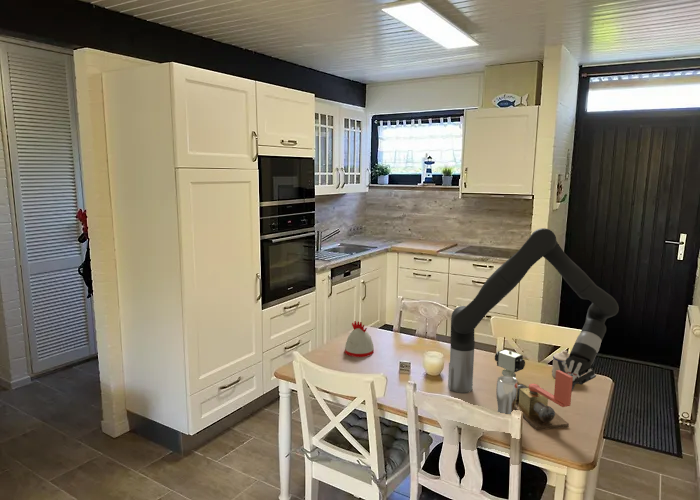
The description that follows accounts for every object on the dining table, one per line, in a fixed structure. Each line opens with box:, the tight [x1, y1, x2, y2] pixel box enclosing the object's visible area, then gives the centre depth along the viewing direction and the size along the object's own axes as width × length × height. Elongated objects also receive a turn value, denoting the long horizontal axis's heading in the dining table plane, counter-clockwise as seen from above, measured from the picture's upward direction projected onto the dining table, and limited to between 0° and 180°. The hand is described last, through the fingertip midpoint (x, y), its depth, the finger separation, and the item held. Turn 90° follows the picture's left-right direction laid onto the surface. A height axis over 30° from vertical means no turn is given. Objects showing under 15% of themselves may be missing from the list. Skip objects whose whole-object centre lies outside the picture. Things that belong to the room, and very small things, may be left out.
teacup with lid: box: [551, 350, 570, 379], centre depth 205 cm, size 12×9×12 cm
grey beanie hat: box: [344, 320, 375, 358], centre depth 231 cm, size 14×14×15 cm
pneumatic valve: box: [494, 349, 526, 379], centre depth 203 cm, size 6×12×12 cm, turn 40°
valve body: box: [514, 383, 570, 431], centre depth 174 cm, size 22×12×9 cm, turn 10°
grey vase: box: [495, 375, 518, 414], centre depth 168 cm, size 7×7×15 cm
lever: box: [528, 370, 573, 408], centre depth 165 cm, size 18×4×11 cm, turn 21°
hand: (566, 391), depth 160 cm, fingers closed
